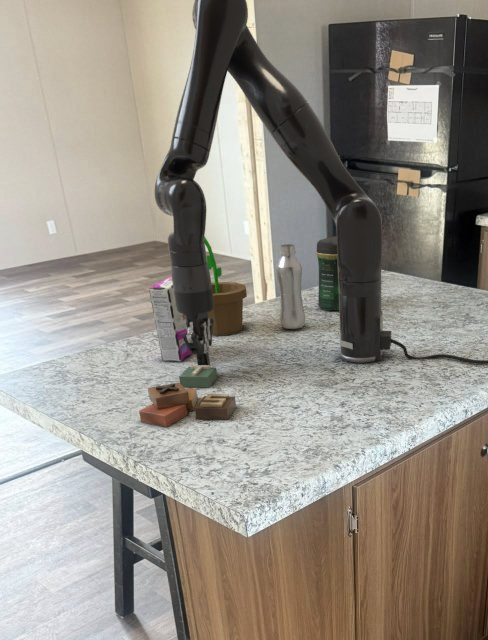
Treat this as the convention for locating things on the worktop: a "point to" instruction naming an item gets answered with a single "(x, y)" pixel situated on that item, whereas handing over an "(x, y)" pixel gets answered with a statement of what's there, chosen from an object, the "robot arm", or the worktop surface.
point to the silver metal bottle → (290, 288)
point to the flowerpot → (225, 301)
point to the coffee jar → (328, 273)
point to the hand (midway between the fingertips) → (204, 369)
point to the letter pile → (168, 404)
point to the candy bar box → (169, 322)
